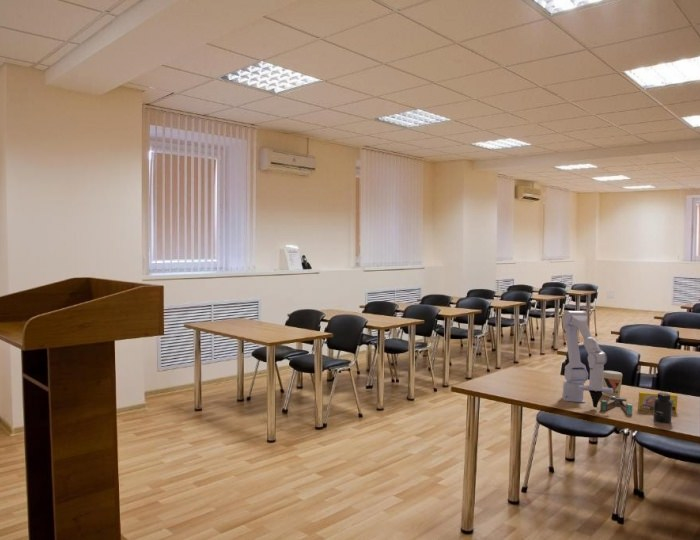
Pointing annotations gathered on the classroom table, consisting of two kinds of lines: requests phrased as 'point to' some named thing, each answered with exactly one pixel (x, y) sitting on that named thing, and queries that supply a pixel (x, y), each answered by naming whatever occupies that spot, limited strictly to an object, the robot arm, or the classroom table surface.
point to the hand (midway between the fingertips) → (594, 406)
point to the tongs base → (623, 404)
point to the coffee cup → (612, 382)
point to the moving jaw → (607, 405)
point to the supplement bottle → (663, 408)
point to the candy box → (653, 401)
